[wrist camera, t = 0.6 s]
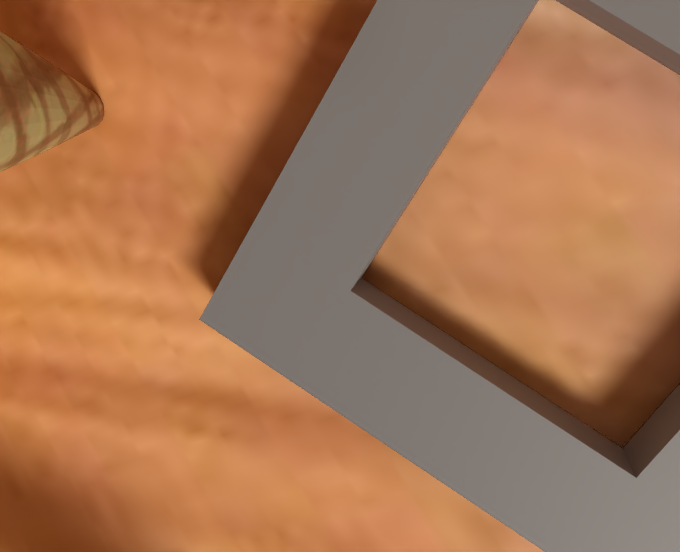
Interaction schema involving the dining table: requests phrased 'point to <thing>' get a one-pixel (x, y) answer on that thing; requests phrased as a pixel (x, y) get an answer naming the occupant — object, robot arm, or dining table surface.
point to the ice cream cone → (39, 105)
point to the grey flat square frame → (411, 329)
